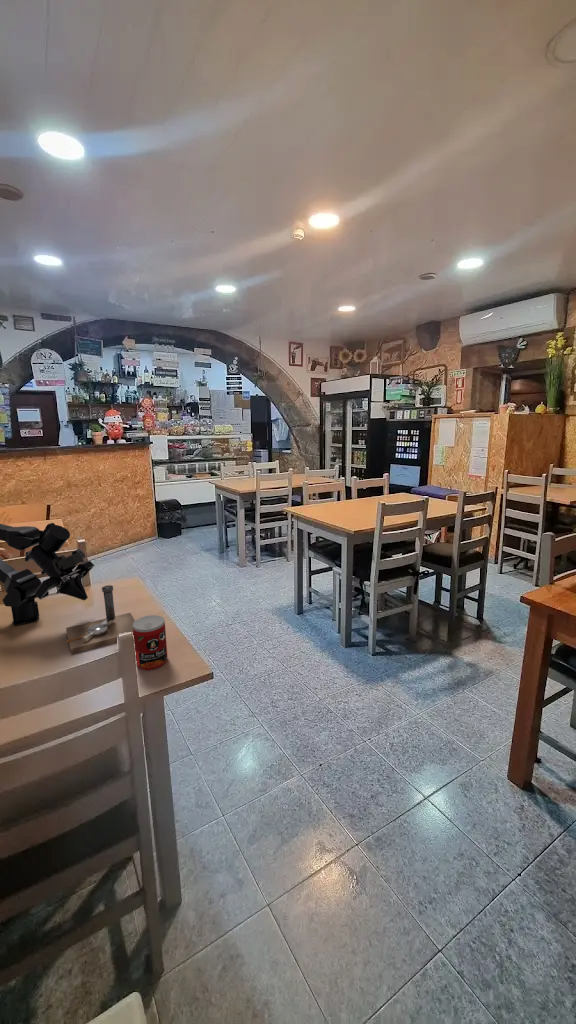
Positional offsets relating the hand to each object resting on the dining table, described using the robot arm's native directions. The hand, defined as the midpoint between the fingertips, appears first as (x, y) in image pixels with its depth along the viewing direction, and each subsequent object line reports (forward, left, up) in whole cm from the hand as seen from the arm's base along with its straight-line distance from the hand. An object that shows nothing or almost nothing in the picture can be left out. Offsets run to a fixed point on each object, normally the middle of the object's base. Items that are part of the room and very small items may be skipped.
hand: (86, 599), depth 123 cm
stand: (+3, -7, -9) cm, 12 cm away
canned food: (+11, -30, -9) cm, 33 cm away
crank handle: (+2, -8, -7) cm, 11 cm away
